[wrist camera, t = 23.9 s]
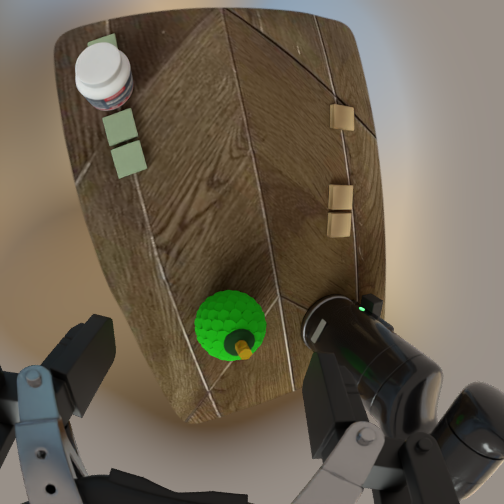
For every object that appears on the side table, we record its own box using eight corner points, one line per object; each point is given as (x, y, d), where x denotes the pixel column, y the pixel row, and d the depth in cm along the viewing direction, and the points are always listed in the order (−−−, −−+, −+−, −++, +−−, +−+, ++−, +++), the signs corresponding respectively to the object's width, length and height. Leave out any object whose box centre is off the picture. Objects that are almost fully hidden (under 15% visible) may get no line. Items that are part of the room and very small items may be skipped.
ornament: (249, 273, 37) (281, 309, 28) (255, 328, 39) (285, 372, 30) (184, 287, 35) (197, 330, 26) (196, 342, 37) (212, 393, 28)
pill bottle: (114, 119, 27) (100, 103, 19) (79, 98, 25) (55, 77, 17) (143, 80, 27) (141, 51, 18) (107, 59, 24) (95, 27, 16)
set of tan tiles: (349, 108, 35) (354, 107, 34) (345, 234, 40) (349, 236, 39) (329, 104, 34) (334, 103, 33) (326, 236, 39) (330, 237, 38)
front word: (115, 36, 24) (114, 33, 23) (147, 168, 30) (147, 168, 29) (88, 45, 23) (87, 42, 22) (120, 178, 29) (118, 178, 28)
